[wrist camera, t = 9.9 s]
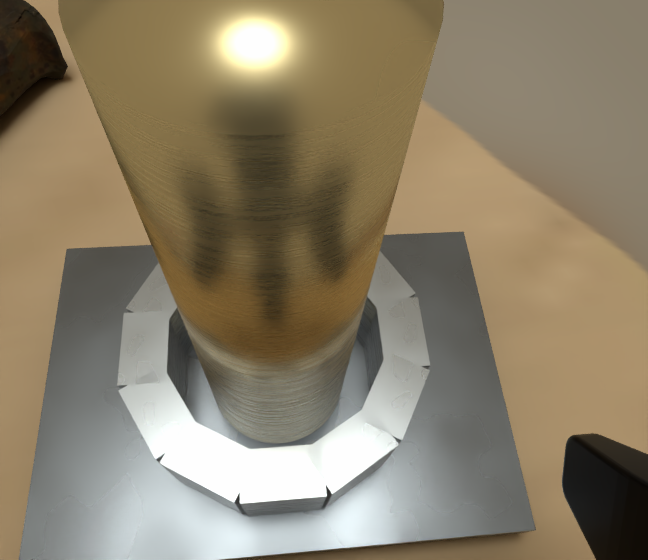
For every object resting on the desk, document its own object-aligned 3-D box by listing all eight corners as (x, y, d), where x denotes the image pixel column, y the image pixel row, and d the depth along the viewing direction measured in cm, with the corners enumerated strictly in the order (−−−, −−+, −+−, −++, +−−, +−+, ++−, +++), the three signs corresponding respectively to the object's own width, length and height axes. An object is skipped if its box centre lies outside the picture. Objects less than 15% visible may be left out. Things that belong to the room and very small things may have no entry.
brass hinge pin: (363, 410, 17) (517, 59, 6) (240, 466, 16) (118, 181, 5) (310, 302, 19) (343, -141, 7) (195, 346, 18) (22, -83, 6)
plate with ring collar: (520, 532, 17) (585, 520, 13) (34, 578, 15) (-46, 578, 12) (454, 248, 21) (489, 179, 18) (78, 266, 20) (31, 195, 16)
